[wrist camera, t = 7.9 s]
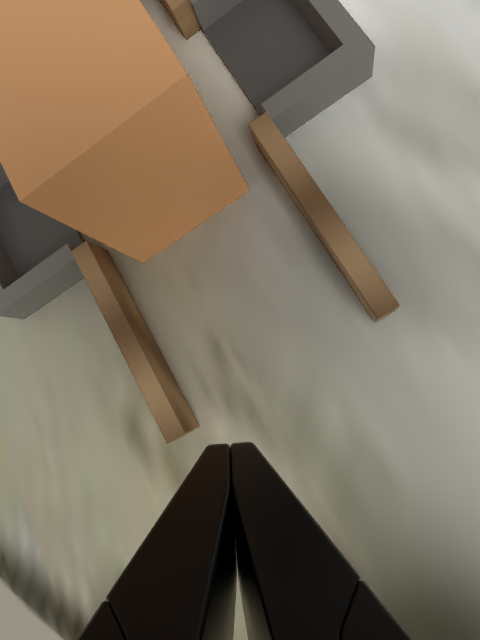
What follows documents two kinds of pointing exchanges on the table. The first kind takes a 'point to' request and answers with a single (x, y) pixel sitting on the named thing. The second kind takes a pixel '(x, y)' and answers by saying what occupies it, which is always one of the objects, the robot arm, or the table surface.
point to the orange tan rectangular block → (107, 125)
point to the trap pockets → (258, 84)
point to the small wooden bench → (126, 316)
